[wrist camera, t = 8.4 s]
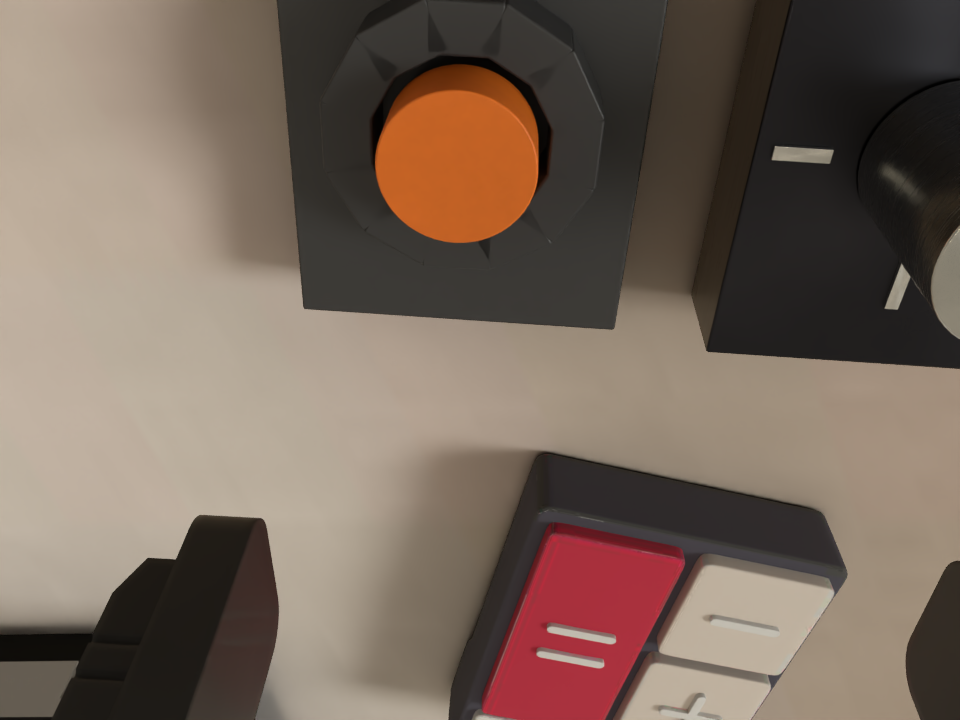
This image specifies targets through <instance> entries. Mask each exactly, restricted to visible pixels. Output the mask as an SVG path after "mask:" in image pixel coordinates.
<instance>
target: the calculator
mask: <svg viewBox="0 0 960 720" xmlns="http://www.w3.org/2000/svg"><path fill="white" fill-rule="evenodd" d="M847 575H848V574H847V570H846V567H845V564H844V562H843V560H842V557H841V555H840V552H839V550H838V547H837V545H836V542H835V540H834V538H833V535H832V533H831V530H830V528H829V526H828V523H827V521H826V519H825V516H824V515H823V514H822V513H821V512H819V511H816V510H811V509H807V508H802V507H797V506H793V505H788V504H783V503H778V502H774V501H769V500H764V499H760V498H755V497H750V496H746V495H741V494H736V493H731V492H727V491H722V490H717V489H713V488H708V487H703V486H698V485H694V484H689V483H684V482H680V481H675V480H670V479H666V478H661V477H656V476H651V475H647V474H642V473H637V472H633V471H628V470H623V469H619V468H614V467H609V466H604V465H600V464H595V463H590V462H586V461H581V460H576V459H571V458H567V457H562V456H557V455H552V454H543V455H540V456H539V457H537V458H536V460H535V462H534V464H533V466H532V469H531V472H530V475H529V478H528V481H527V483H526V486H525V489H524V492H523V495H522V498H521V500H520V503H519V506H518V509H517V512H516V515H515V517H514V520H513V523H512V526H511V529H510V532H509V535H508V537H507V540H506V543H505V546H504V549H503V552H502V554H501V557H500V560H499V563H498V566H497V569H496V571H495V574H494V577H493V580H492V583H491V586H490V588H489V591H488V594H487V597H486V600H485V603H484V605H483V608H482V611H481V614H480V617H479V620H478V622H477V625H476V628H475V631H474V634H473V637H472V639H470V640H469V641H468V642H467V645H466V647H465V650H464V653H463V656H462V659H461V661H460V664H459V667H458V670H457V673H456V676H455V679H454V681H453V684H452V688H451V696H450V707H449V720H752V718H753V717H754V715H755V714H756V712H757V711H758V709H759V708H760V706H761V705H762V703H763V702H764V700H765V699H766V697H767V696H768V694H769V693H770V691H771V690H772V688H773V687H774V686H775V684H776V683H777V681H778V680H779V678H780V677H781V675H782V674H783V672H784V671H785V669H786V668H787V666H788V665H789V663H790V662H791V660H792V659H793V657H794V656H795V654H796V653H797V651H798V650H799V648H800V647H801V645H802V644H803V643H804V641H805V640H806V638H807V637H808V635H809V634H810V632H811V631H812V629H813V628H814V626H815V625H816V623H817V622H818V620H819V619H820V617H821V616H822V614H823V613H824V611H825V610H826V608H827V607H828V605H829V604H830V602H831V601H832V599H833V598H834V597H835V595H836V594H837V592H838V591H839V589H840V588H841V586H842V585H843V583H844V582H845V580H846V578H847Z"/></svg>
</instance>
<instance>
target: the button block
mask: <svg viewBox="0 0 960 720" xmlns="http://www.w3.org/2000/svg"><path fill="white" fill-rule="evenodd" d="M667 4H668V0H277V8H278V19H279V31H280V42H281V54H282V65H283V77H284V88H285V100H286V112H287V123H288V135H289V146H290V158H291V169H292V181H293V192H294V204H295V215H296V227H297V238H298V250H299V262H300V273H301V285H302V296H303V307H304V309H313V310H328V311H343V312H358V313H373V314H388V315H402V316H417V317H432V318H447V319H462V320H477V321H492V322H507V323H521V324H536V325H551V326H566V327H581V328H596V329H611V330H612V329H614V327H615V322H616V315H617V309H618V303H619V297H620V291H621V285H622V279H623V273H624V267H625V260H626V254H627V248H628V242H629V236H630V230H631V224H632V218H633V212H634V205H635V199H636V193H637V187H638V181H639V175H640V169H641V163H642V157H643V150H644V144H645V138H646V132H647V126H648V120H649V114H650V108H651V102H652V96H653V89H654V83H655V77H656V71H657V65H658V59H659V53H660V47H661V41H662V34H663V28H664V22H665V16H666V10H667ZM452 64H467V65H474V66H478V67H482V68H486V69H488V70H490V71H493V72H495V73H497V74H499V75H500V76H502V77H504V78H505V79H507V80H508V81H509V82H511V83H512V84H513V85H514V86H515V87H516V88H517V89H518V90H519V91H520V92H521V93H522V95H523V96H524V97H525V99H526V100H527V102H528V104H529V105H530V107H531V109H532V112H533V114H534V117H535V120H536V124H537V129H538V180H537V186H536V189H535V192H534V195H533V197H532V199H531V202H530V204H529V205H528V207H527V208H526V210H525V211H524V213H523V214H522V215H521V216H520V217H519V218H518V220H516V221H515V222H514V223H513V224H512V225H511V226H509V227H508V228H507V229H505V230H504V231H502V232H500V233H498V234H496V235H494V236H492V237H489V238H487V239H484V240H479V241H475V242H467V243H452V242H444V241H440V240H436V239H433V238H430V237H427V236H425V235H423V234H421V233H419V232H417V231H415V230H413V229H412V228H410V227H409V226H407V225H406V224H405V223H404V222H403V221H402V220H400V219H399V218H398V217H397V215H396V214H395V213H394V212H393V211H392V210H391V208H390V207H389V206H388V204H387V203H386V201H385V199H384V197H383V195H382V193H381V191H380V188H379V185H378V182H377V177H376V170H375V154H376V149H377V144H378V141H379V138H380V135H381V133H382V130H383V127H384V125H385V122H386V119H387V117H388V114H389V111H390V109H391V107H392V105H393V103H394V101H395V99H396V97H397V96H398V95H399V93H400V92H401V91H402V90H403V88H404V87H405V86H406V85H407V84H408V83H409V82H411V81H412V80H413V79H414V78H416V77H417V76H419V75H421V74H422V73H424V72H426V71H429V70H431V69H433V68H437V67H441V66H445V65H452Z"/></svg>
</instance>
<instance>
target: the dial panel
mask: <svg viewBox="0 0 960 720" xmlns="http://www.w3.org/2000/svg"><path fill="white" fill-rule="evenodd" d="M959 80H960V0H757V1H756V5H755V10H754V14H753V19H752V23H751V28H750V32H749V37H748V41H747V46H746V50H745V55H744V60H743V64H742V69H741V73H740V78H739V82H738V87H737V91H736V96H735V100H734V105H733V109H732V114H731V119H730V123H729V128H728V132H727V137H726V141H725V146H724V150H723V155H722V159H721V164H720V168H719V173H718V178H717V182H716V187H715V191H714V196H713V200H712V205H711V209H710V214H709V218H708V223H707V227H706V232H705V237H704V241H703V246H702V250H701V255H700V259H699V264H698V268H697V273H696V277H695V282H694V286H693V291H692V299H693V303H694V306H695V310H696V314H697V317H698V321H699V325H700V329H701V332H702V336H703V340H704V344H705V347H706V351H708V352H718V353H733V354H748V355H763V356H777V357H792V358H807V359H822V360H837V361H852V362H866V363H881V364H896V365H911V366H926V367H940V368H955V369H960V339H958V338H957V337H955V336H954V335H953V334H951V333H950V332H949V331H948V330H947V329H946V328H945V327H944V326H943V324H942V323H941V322H940V320H939V319H938V317H937V316H936V314H935V313H934V311H933V310H932V308H931V307H930V305H929V304H928V302H927V301H926V300H925V298H924V297H923V295H922V294H921V292H920V291H919V289H918V288H917V286H916V285H915V283H914V282H913V280H912V279H911V277H910V276H909V274H908V273H907V271H906V270H905V268H904V267H903V265H902V264H901V262H900V261H899V259H898V258H897V256H896V255H895V253H894V252H893V250H892V249H891V247H890V246H889V244H888V243H887V241H886V240H885V238H884V237H883V235H882V234H881V232H880V231H879V229H878V228H877V226H876V225H875V223H874V222H873V220H872V219H871V217H870V216H869V214H868V213H867V211H866V210H865V208H864V206H863V204H862V202H861V198H860V195H859V190H858V171H859V165H860V161H861V158H862V155H863V152H864V150H865V148H866V146H867V143H868V141H869V140H870V138H871V137H872V135H873V133H874V132H875V130H876V129H877V128H878V127H879V125H880V124H881V123H882V122H883V121H884V120H885V119H886V118H887V116H888V115H889V114H890V113H891V112H893V111H894V110H895V109H896V108H897V107H899V106H900V105H901V104H903V103H904V102H906V101H907V100H908V99H910V98H911V97H913V96H915V95H917V94H919V93H921V92H922V91H925V90H927V89H930V88H932V87H934V86H938V85H941V84H944V83H948V82H954V81H959Z"/></svg>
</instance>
